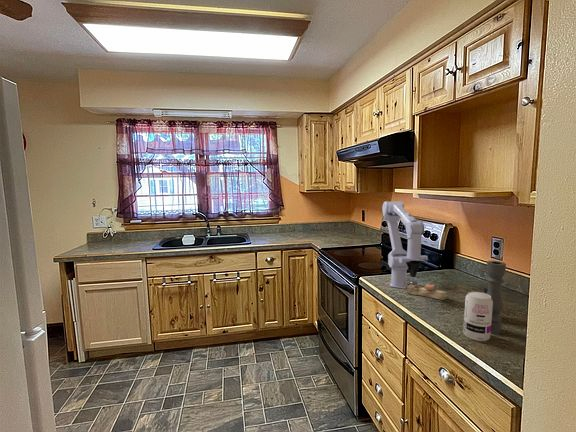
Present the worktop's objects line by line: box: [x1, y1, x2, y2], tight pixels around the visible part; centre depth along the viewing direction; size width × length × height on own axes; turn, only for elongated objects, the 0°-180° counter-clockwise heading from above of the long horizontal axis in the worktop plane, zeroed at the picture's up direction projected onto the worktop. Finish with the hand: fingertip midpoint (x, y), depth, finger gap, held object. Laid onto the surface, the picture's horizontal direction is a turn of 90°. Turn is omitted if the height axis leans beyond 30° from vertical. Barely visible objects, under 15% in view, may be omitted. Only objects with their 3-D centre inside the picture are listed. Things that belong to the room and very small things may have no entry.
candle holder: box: [485, 260, 507, 335], centre depth 116 cm, size 6×6×25 cm
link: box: [406, 283, 447, 301], centre depth 151 cm, size 16×5×3 cm, turn 52°
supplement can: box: [462, 291, 493, 342], centre depth 112 cm, size 8×8×15 cm
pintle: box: [409, 280, 418, 288], centre depth 154 cm, size 3×3×6 cm
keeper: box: [423, 283, 435, 290], centre depth 151 cm, size 3×6×5 cm, turn 142°
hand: (412, 276), depth 150 cm, fingers closed
